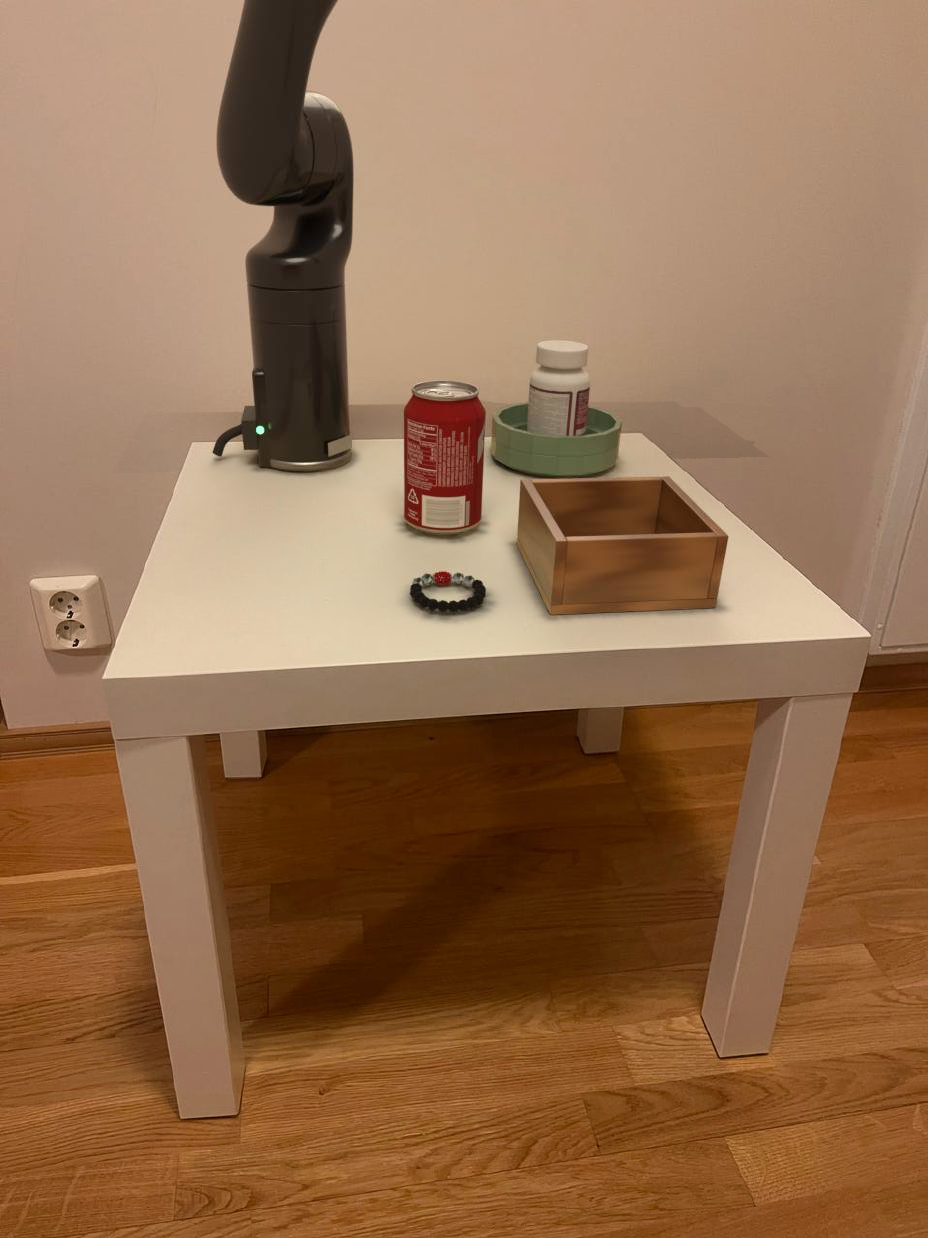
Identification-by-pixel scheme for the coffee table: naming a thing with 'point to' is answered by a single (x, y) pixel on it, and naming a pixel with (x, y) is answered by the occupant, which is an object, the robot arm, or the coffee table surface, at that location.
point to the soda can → (443, 457)
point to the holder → (618, 545)
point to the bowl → (555, 444)
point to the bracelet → (446, 576)
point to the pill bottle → (559, 389)
